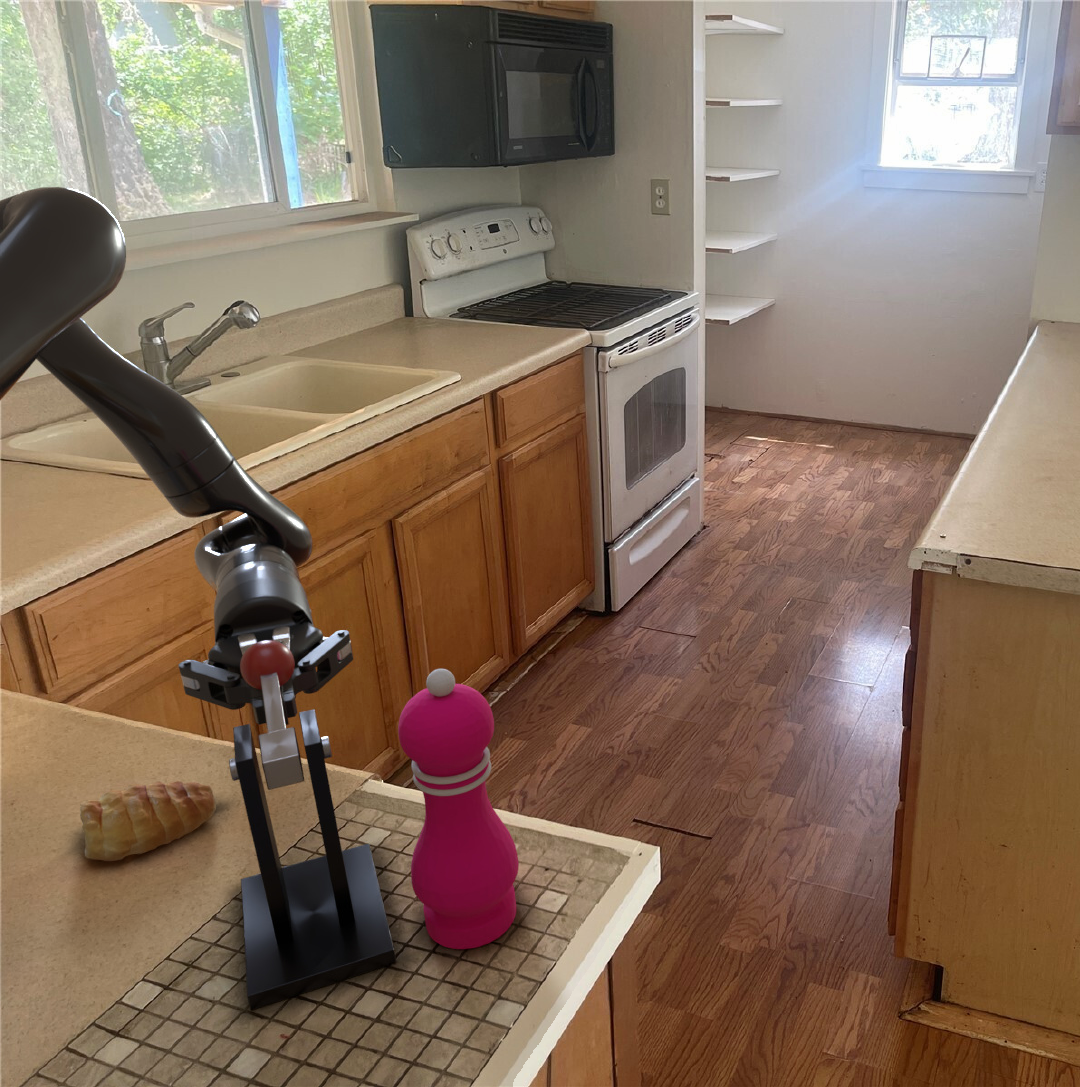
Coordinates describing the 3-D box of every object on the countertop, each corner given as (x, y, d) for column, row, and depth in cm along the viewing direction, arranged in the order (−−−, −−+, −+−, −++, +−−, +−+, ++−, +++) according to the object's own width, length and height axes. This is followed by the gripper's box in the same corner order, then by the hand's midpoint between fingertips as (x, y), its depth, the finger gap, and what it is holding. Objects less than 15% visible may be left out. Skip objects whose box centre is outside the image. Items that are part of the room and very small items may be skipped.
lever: (243, 674, 75) (234, 636, 73) (295, 664, 76) (287, 626, 74) (258, 800, 65) (248, 759, 63) (317, 785, 67) (309, 745, 65)
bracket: (243, 891, 75) (198, 706, 68) (371, 855, 78) (339, 676, 72) (250, 1010, 65) (198, 806, 58) (396, 963, 68) (362, 765, 62)
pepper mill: (405, 956, 69) (363, 700, 61) (434, 882, 75) (399, 643, 68) (512, 956, 69) (483, 700, 61) (532, 882, 75) (507, 643, 68)
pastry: (209, 788, 86) (200, 750, 85) (224, 831, 81) (215, 792, 80) (82, 829, 81) (69, 789, 80) (89, 877, 76) (76, 836, 75)
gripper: (166, 592, 83) (160, 691, 68) (337, 563, 88) (365, 650, 74) (186, 673, 86) (184, 784, 71) (350, 640, 91) (379, 738, 77)
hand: (276, 716), depth 72 cm, fingers closed
